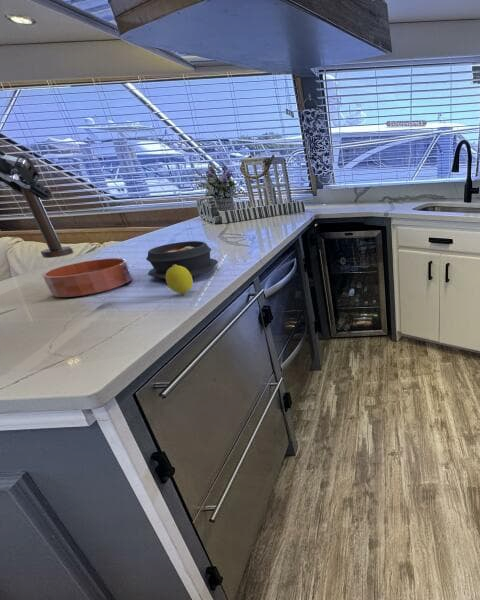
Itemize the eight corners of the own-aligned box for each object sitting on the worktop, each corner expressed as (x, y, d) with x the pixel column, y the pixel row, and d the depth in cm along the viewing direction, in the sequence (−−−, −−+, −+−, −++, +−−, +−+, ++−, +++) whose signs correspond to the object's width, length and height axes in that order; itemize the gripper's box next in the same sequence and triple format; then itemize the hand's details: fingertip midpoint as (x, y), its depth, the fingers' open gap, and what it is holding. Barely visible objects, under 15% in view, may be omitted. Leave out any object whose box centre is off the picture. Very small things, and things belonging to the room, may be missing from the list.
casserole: (228, 274, 97) (221, 247, 93) (153, 291, 86) (142, 261, 83) (210, 259, 114) (204, 235, 111) (147, 271, 104) (137, 245, 100)
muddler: (37, 258, 67) (-4, 177, 61) (52, 253, 71) (16, 176, 65) (65, 256, 68) (28, 176, 62) (78, 251, 72) (45, 175, 66)
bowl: (36, 303, 81) (24, 281, 79) (76, 281, 96) (67, 262, 94) (116, 293, 86) (107, 272, 83) (142, 274, 101) (135, 255, 98)
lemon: (200, 292, 84) (191, 263, 80) (178, 300, 79) (167, 269, 76) (190, 289, 86) (180, 260, 83) (167, 296, 82) (157, 266, 79)
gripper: (-18, 106, 52) (81, 181, 68) (-103, 108, 52) (16, 183, 68) (-40, 140, 49) (69, 210, 66) (-129, 143, 49) (2, 212, 66)
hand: (42, 196), depth 67 cm, fingers closed on muddler
